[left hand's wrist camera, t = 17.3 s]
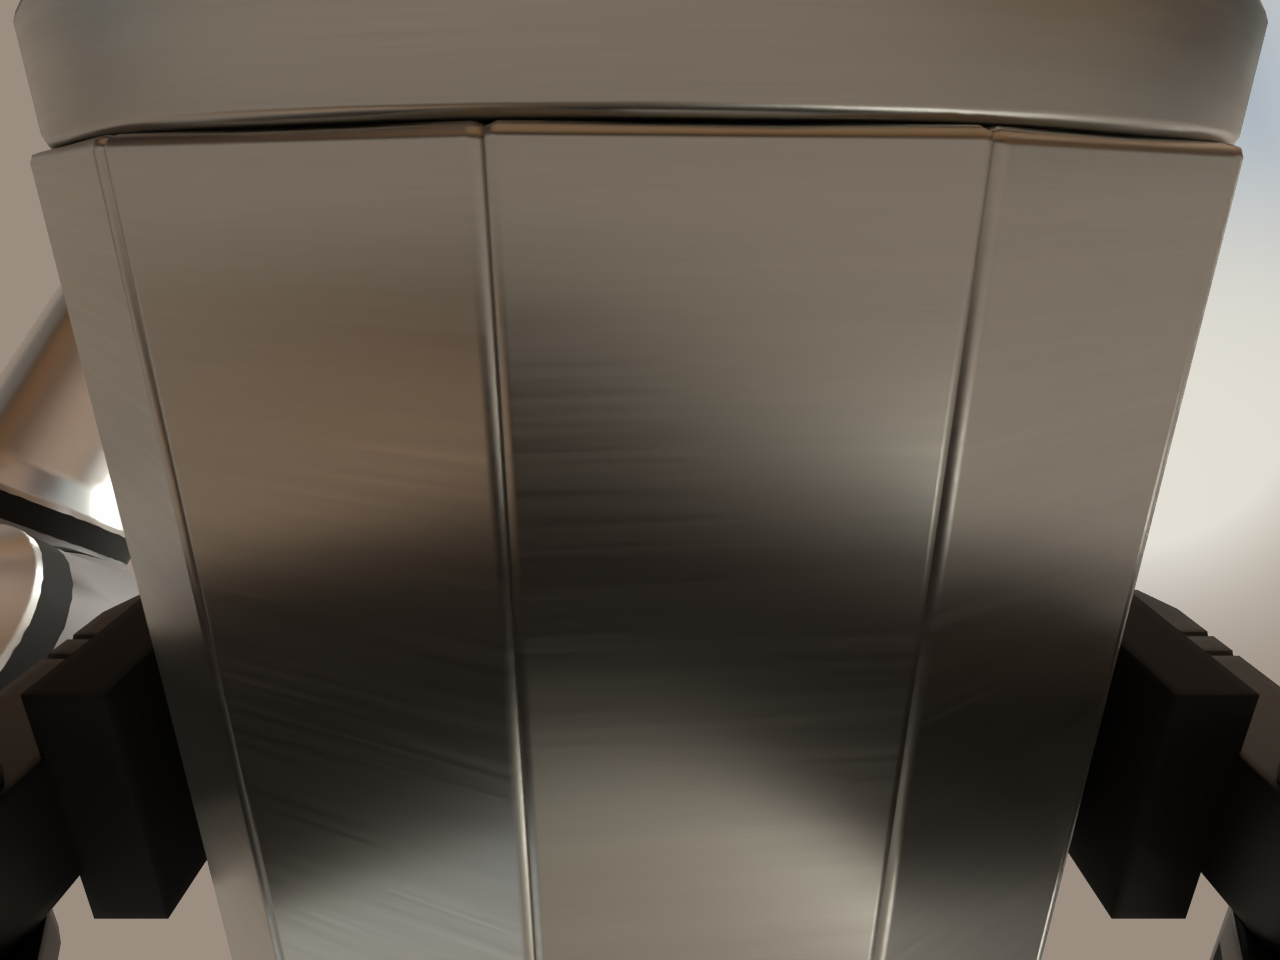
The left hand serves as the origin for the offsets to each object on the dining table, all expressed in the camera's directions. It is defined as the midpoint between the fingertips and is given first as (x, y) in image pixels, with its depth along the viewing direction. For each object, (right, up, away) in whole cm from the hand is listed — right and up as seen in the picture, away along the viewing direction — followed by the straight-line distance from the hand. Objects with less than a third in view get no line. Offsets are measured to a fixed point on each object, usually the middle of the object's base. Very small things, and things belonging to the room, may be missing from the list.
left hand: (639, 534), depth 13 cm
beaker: (0, +5, -6) cm, 8 cm away
